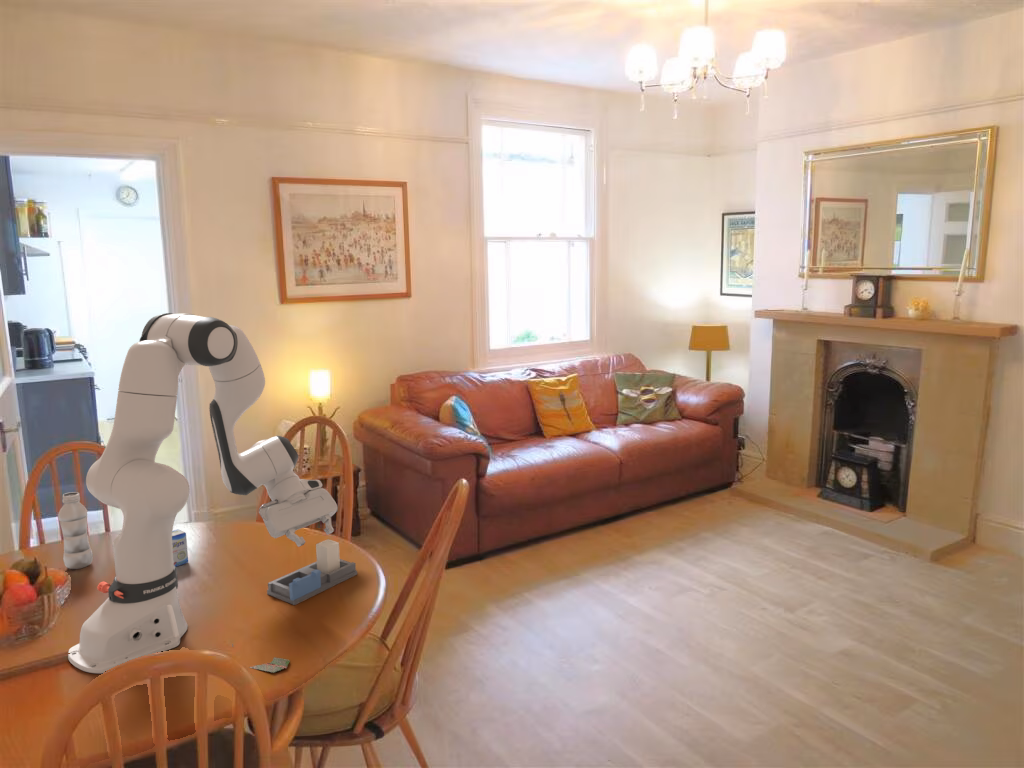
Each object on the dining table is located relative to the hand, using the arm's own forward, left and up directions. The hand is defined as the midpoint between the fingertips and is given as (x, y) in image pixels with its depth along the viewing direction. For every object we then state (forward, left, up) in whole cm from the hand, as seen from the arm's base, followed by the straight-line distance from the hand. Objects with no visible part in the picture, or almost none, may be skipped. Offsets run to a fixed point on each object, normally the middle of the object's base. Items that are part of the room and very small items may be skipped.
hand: (316, 538), depth 182 cm
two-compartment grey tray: (-5, -4, -9) cm, 11 cm away
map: (-35, -19, -10) cm, 41 cm away
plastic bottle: (-33, +55, -9) cm, 65 cm away
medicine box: (-19, +36, -9) cm, 42 cm away
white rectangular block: (0, -4, -8) cm, 9 cm away
